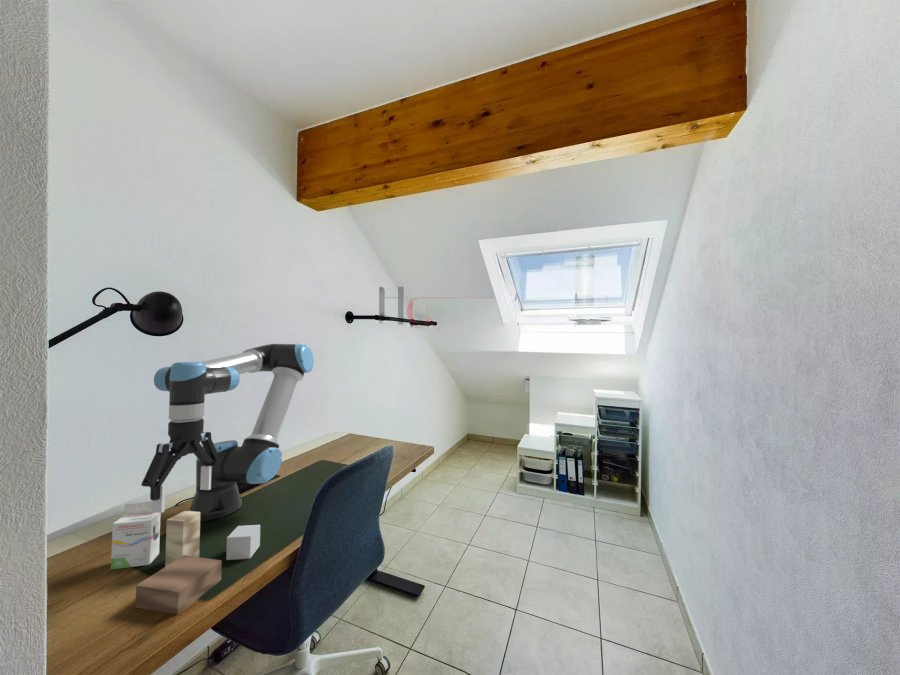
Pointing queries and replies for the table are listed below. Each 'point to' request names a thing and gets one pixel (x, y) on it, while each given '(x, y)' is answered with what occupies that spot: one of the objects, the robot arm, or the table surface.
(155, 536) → the ink box
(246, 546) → the grey plastic block
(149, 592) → the walnut base block
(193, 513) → the oak column
